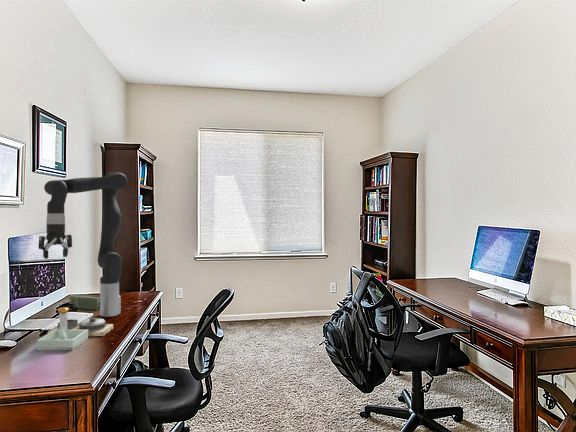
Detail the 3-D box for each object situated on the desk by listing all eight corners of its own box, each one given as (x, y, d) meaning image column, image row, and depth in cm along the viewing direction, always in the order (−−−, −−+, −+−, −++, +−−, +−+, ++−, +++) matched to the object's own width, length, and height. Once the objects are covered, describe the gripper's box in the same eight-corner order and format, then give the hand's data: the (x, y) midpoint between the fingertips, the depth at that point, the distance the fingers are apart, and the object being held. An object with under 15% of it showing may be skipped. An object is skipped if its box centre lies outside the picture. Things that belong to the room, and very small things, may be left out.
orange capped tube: (65, 339, 172) (65, 306, 171) (70, 341, 170) (70, 308, 169) (56, 342, 168) (55, 308, 168) (61, 344, 166) (61, 310, 166)
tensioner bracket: (47, 336, 178) (47, 322, 178) (61, 328, 190) (61, 315, 190) (102, 336, 180) (102, 322, 179) (113, 328, 192) (113, 315, 191)
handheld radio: (73, 306, 232) (110, 309, 226) (68, 307, 229) (106, 311, 222) (73, 294, 232) (110, 297, 225) (68, 295, 229) (105, 299, 222)
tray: (55, 338, 176) (55, 329, 176) (88, 338, 176) (88, 329, 176) (36, 350, 162) (36, 340, 162) (72, 350, 162) (72, 340, 162)
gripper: (44, 223, 182) (44, 259, 182) (75, 222, 194) (75, 256, 194) (35, 223, 186) (35, 258, 186) (66, 222, 198) (66, 255, 198)
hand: (55, 257), depth 190 cm, fingers open, 8 cm apart
